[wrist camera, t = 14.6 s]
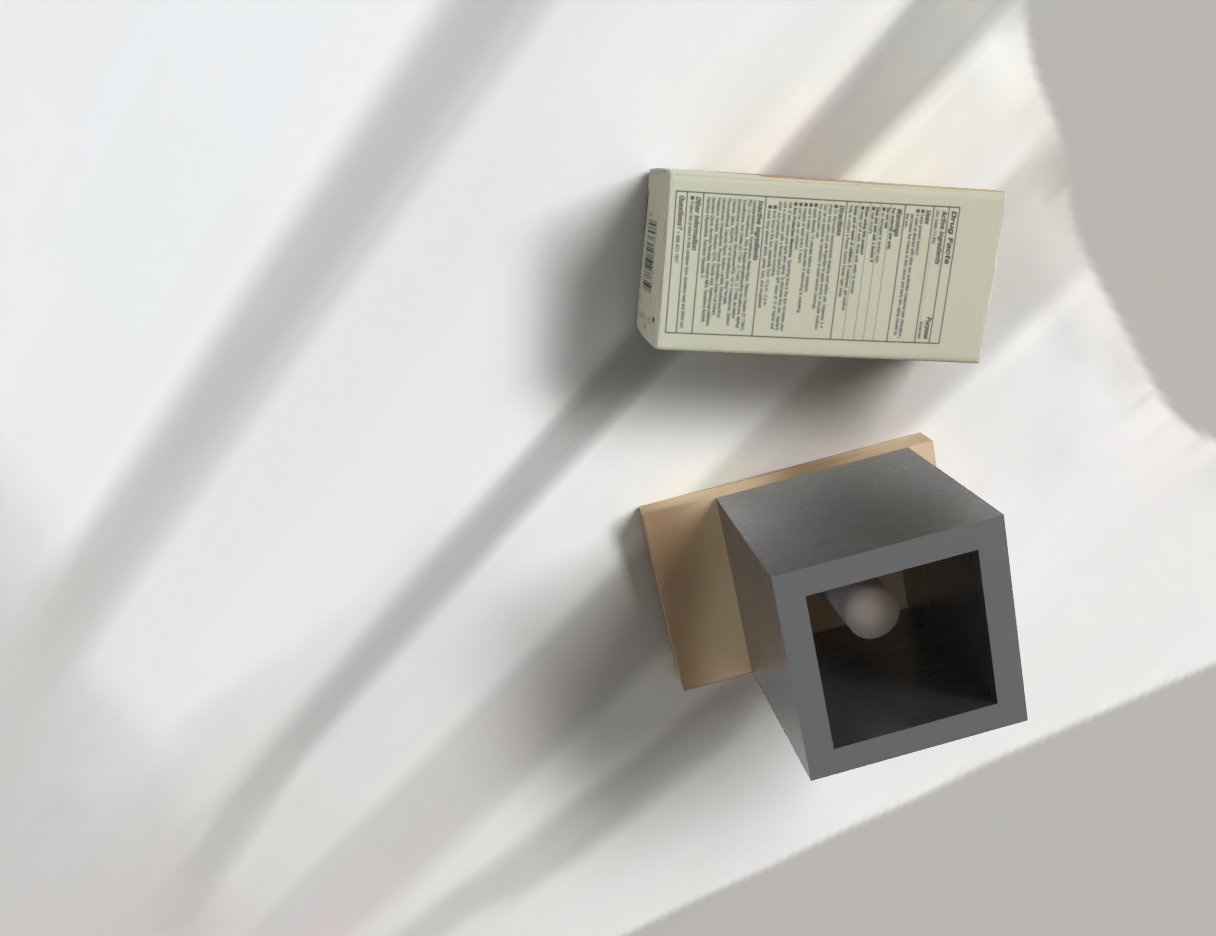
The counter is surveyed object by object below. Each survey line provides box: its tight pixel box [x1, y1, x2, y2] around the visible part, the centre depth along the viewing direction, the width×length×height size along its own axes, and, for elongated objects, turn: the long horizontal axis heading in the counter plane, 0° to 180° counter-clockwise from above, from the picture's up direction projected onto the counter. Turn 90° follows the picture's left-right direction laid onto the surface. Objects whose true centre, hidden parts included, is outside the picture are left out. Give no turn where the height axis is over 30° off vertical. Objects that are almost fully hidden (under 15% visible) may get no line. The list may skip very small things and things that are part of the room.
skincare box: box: [636, 168, 1007, 363], centre depth 39 cm, size 6×4×12 cm
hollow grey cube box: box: [716, 447, 1028, 781], centre depth 40 cm, size 8×8×8 cm
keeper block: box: [639, 433, 936, 691], centre depth 42 cm, size 12×8×6 cm, turn 103°
